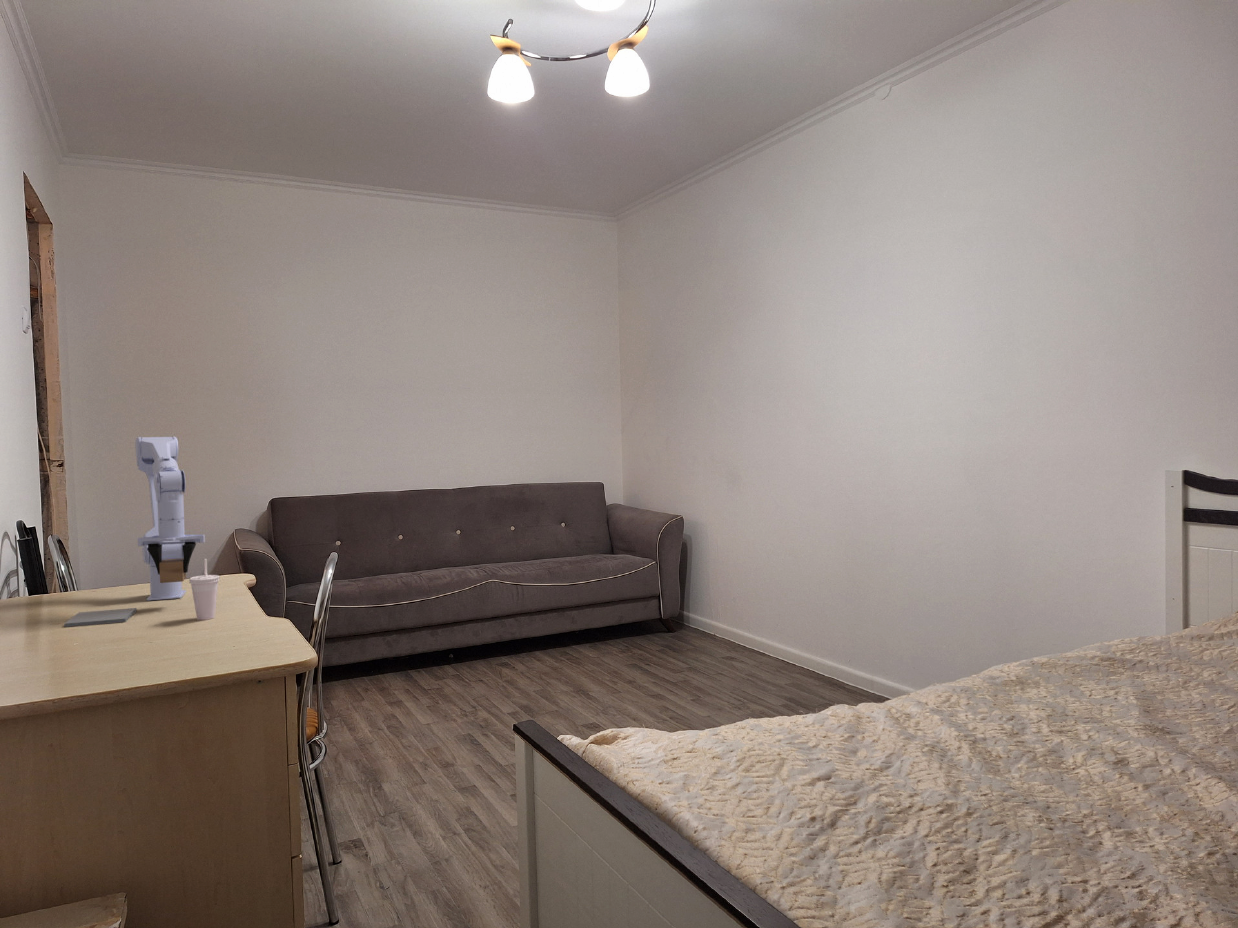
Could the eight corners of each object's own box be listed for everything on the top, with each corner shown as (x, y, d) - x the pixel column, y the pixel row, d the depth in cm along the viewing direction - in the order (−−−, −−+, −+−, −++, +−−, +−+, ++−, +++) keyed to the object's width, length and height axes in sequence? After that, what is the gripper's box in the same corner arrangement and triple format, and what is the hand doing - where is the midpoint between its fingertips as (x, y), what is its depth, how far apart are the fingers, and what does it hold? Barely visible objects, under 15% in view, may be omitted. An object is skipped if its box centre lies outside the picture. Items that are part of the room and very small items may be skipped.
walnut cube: (163, 579, 201) (163, 559, 200) (186, 577, 202) (185, 558, 202) (160, 582, 196) (159, 562, 196) (182, 581, 198) (182, 561, 197)
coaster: (79, 615, 191) (78, 612, 191) (136, 611, 195) (136, 607, 195) (64, 627, 180) (64, 623, 180) (125, 621, 184) (125, 618, 184)
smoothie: (226, 614, 190) (224, 556, 190) (210, 621, 184) (208, 561, 183) (201, 614, 191) (199, 556, 190) (184, 620, 184) (182, 561, 184)
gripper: (134, 522, 192) (136, 577, 193) (201, 519, 197) (203, 573, 198) (140, 519, 199) (142, 572, 199) (205, 516, 204) (206, 568, 205)
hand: (173, 572), depth 199 cm, fingers closed on walnut cube, 5 cm apart
